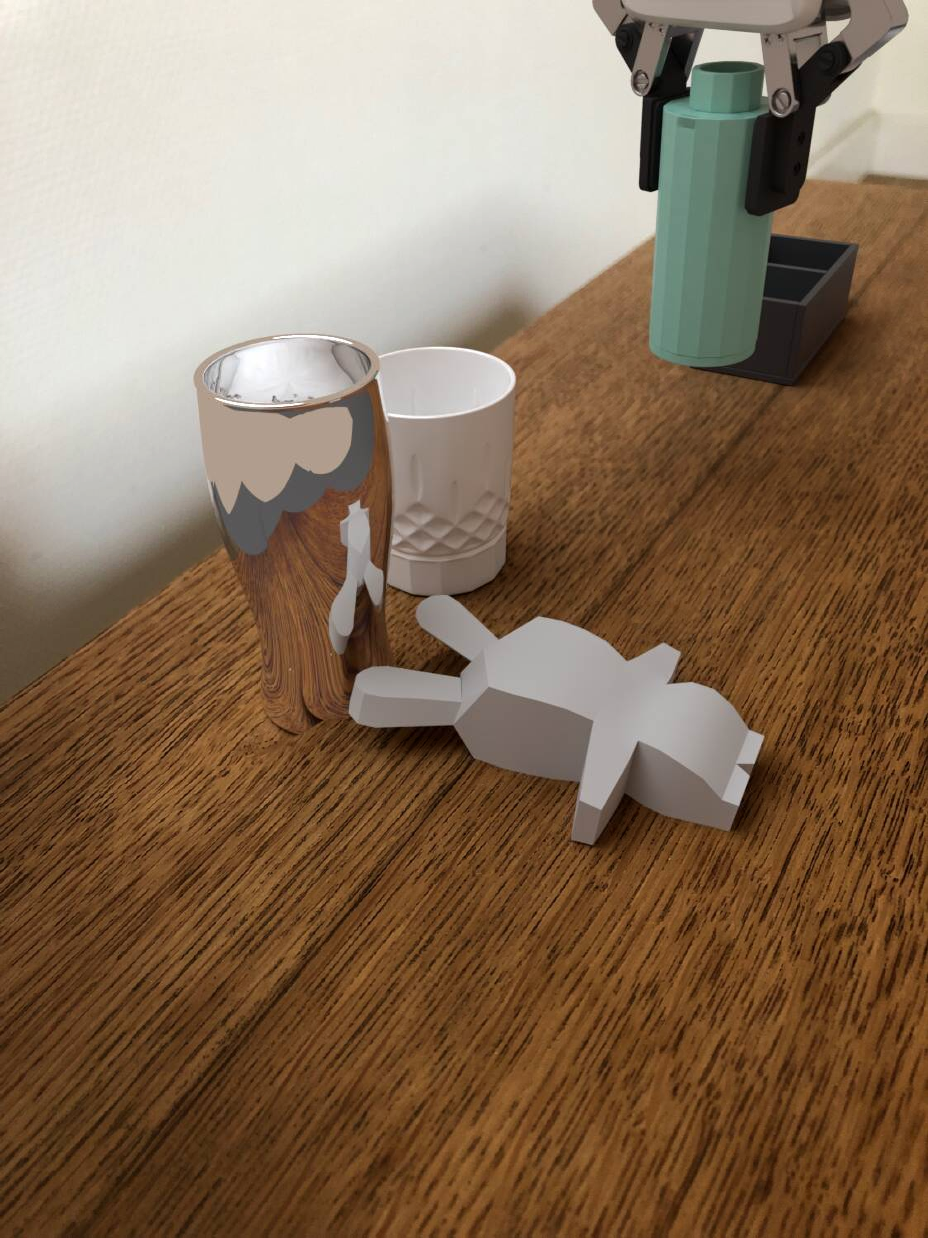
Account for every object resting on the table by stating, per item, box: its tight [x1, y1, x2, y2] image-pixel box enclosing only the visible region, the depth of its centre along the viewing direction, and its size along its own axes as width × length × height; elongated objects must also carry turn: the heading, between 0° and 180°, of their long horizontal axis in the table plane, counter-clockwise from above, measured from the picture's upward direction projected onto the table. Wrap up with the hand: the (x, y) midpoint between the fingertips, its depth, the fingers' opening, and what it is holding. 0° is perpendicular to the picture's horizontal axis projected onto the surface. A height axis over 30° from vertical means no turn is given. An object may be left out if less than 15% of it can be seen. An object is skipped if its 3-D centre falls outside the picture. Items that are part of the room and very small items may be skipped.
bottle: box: [648, 60, 775, 368], centre depth 47 cm, size 5×5×12 cm
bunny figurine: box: [349, 595, 765, 846], centre depth 40 cm, size 10×5×15 cm
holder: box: [689, 232, 860, 387], centre depth 73 cm, size 7×14×6 cm, turn 150°
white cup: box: [378, 346, 517, 597], centre depth 50 cm, size 8×8×10 cm
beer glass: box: [192, 332, 399, 736], centre depth 40 cm, size 7×7×15 cm
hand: (716, 192), depth 47 cm, fingers closed on bottle, 5 cm apart
